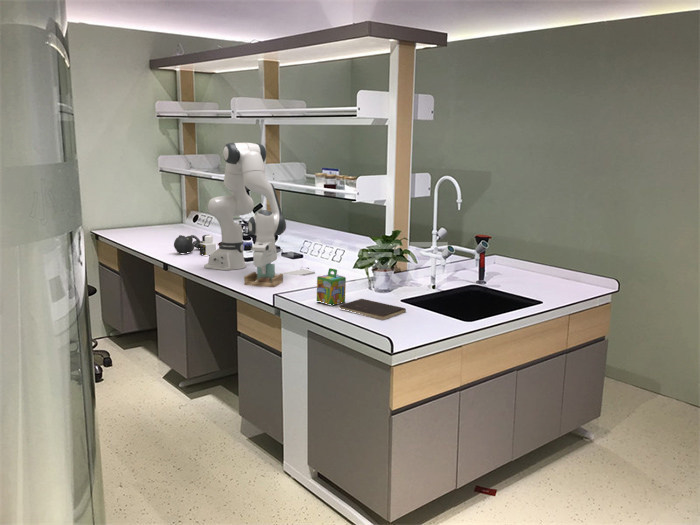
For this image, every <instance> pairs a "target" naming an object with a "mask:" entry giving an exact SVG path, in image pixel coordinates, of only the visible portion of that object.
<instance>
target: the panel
mask: <svg viewBox="0 0 700 525" xmlns="http://www.w3.org/2000/svg"><path fill="white" fill-rule="evenodd" d="M275 266H276V264H275V263H271V264H267V265H266V267H265V268H266V270H267V273H266V274H262V269H261V267H256V271H257V272H256V274H257V280H258V279H259V278H260V277H268V278H271V283H272V278H274V277H275V275H276V269H275V268H276V267H275Z"/></svg>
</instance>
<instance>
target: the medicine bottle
mask: <svg viewBox="0 0 700 525" xmlns="http://www.w3.org/2000/svg"><path fill="white" fill-rule="evenodd" d="M201 238H202V239H201V241H202V242H203V243H200V249H199V255H200V254H203V255H211V254H212V253H214V252H215V251H216V250H217V244H216V243H215V242H214V238H213V235H211V234H204V235H202V237H201ZM203 255H202V256H203Z"/></svg>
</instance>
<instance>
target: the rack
mask: <svg viewBox="0 0 700 525" xmlns="http://www.w3.org/2000/svg"><path fill="white" fill-rule="evenodd" d="M243 280H244V282H243V284H244V285H245V286H254V287H268V288H275V287H277V286H279V285H281V284H283V282H284V274H280V273H279V274H277V275H276V274H275V277H274V278H272V283H264V282H254V281H256V280H257V272H256V271H253V272H251V273H249V274H247V275H244V278H243Z"/></svg>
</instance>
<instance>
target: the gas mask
mask: <svg viewBox="0 0 700 525" xmlns="http://www.w3.org/2000/svg"><path fill="white" fill-rule="evenodd" d="M194 239H195V240H194ZM193 240H194V241H193ZM200 243H203V242H202V240H200V239H199V237H197V236H196V235H194V234H191V235H187V236H185V235H181V234H179V235H178V237H176V238H175V239H174V242H173V247H174V249H175V251H176V252H177V253H178V254H180V253H187V252H191V253H192V252H193V251H194V249H198V248H200Z"/></svg>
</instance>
